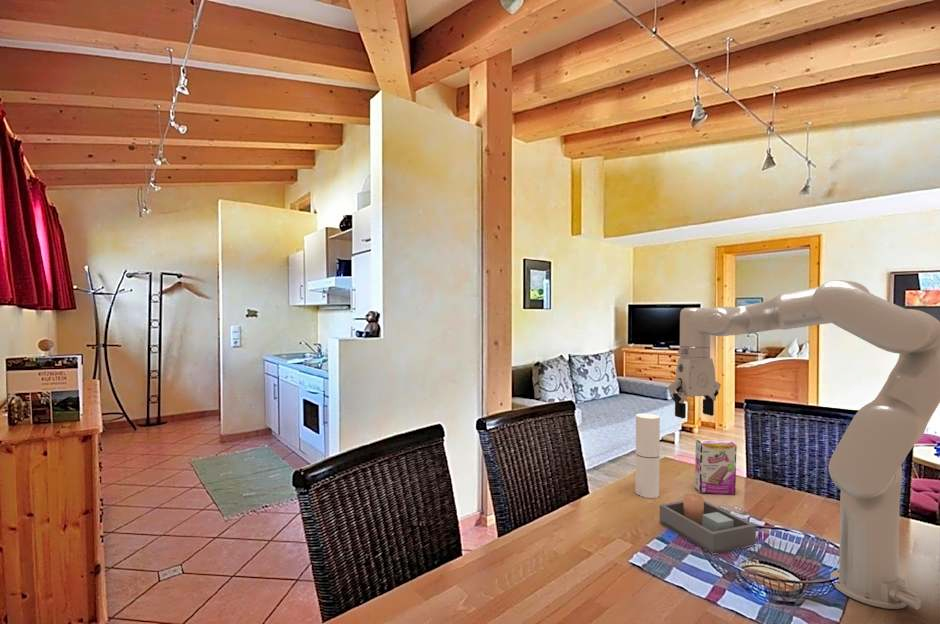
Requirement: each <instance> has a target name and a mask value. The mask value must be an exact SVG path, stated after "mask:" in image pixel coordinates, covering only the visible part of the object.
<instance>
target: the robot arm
mask: <svg viewBox="0 0 940 624" xmlns="http://www.w3.org/2000/svg"><path fill="white" fill-rule="evenodd" d="M679 313H680V314H679V349H678V350H677V353H678V354H679V357H678V359H677V362H676V363H677V364H676V369H675V370H676V371H675V380H674V382H673V383H671V384H670V385H668V386H667V391H668V393H669V396H670V397H671V399H672V401H673V402H674V417H677V418H680V419H685V418H686V417H687V415H686V413H687V411H686V407H687V406H686V403H685V401H686V399H687V398H688V397H692V398H693V397H703V398H702V414H703V415H708V416H710V417H712V416H714V415H715V413H714V412H715V401H716V399H717V396H718V395H719V391H720V389H721V386H722V385H721V383H720V382H718V381H716V380H717V379H716V370H715V365H714V360H713V358H712V357H711V336H714V337H715V336H716V337H727V336H729V337H730V336H740V335H747V334H754V333H760V332H761V333H762V332H768V331H773V330H774V331H776V330H783V331H784V330H792V329H797V328H806V327H814V326H817V325H818V326H819V325H828V324H832V325H835V326H837V327H838V328H840V329H842V330H844V331H845V332H847V333H849V334H852V335H854V336H856V337H857V338H859V339H861V340H863V341H865V342H866V343H868V344H871V345H872V346H874V347H877V348H878V349H881V350H883V351H886V352H889V353H893V354H899V356H898V359H897V362H896V364H895V365H894V366H893V368H892V370H891V372H889V375H888V377H887V380H886V381H885V383H884V384H883V386H882V388H881V390H880V391H879V393H878V395H876V397H875V399H873V400H871V402H869V403H866V404H865V405H864V406H862V407H861V408H860V409H858V411H857V412H856V413H855V414H854V416H853V418H852V420H850V422H849V425H848V426H847V428H846V430H845V432H844V433H843V435H842V437H841V439H840V441H839V442H838V444H837V445H836V448H834V449H835V450H834V451H833V453H832V455H831V457H830V458H829V461H828V474H829V477H830V478H831V480H832V482H833V484H834V486H836V487H837V489H839V490H840V496H839V497H840V500H839V502H840V503H839V559H838V560H839V568H838V569H835V570H833V571H832V572H831V573H830V574H829V579H830V578H833V577H839V579H838V581H837V583H835V587H834V588H835V589H836V590H837V591H839V592H841V594H843V595H845V596H847V597H849V598H851V599H853V600H856V601H857V602H861V603H863V604H866V605H869V606H873V607H877V608H880V609H888V610H900V609H904V608H906V607H907V606H909V608H910V607H911V608H913V609H914V610H916V611H917V610H919V609H921V606H922V601H921V595H920V594H918V593H916V592H915V591H912V590H908V589H907V587H905V582H906V581H905V579H904V578H901V577H899V561H900V560H899V559H900V558H899V556H900V555H899V550H900V549H899V546H900V544H899V543H900V542H899V541H900V506H901V505H900V501H901V492H902V483H903V467H902V464H903V463H904V462H905V459H906V458H907V456H908V454H909V453H910V451H912V448H913V447H914V446H915V444H916V443H917V442H918V441H919V440H921V438H922V437H923V436H924V434H925V431H926V428H927V426H928V424H929V423H930V420H931V418H932V416H933V415H934V413H935V411H936V410H937V408H938V406H939V405H940V320H938V319H937V318H936V317H934V316H933V315H931V314H930V313H927V312H925V311H922V310H919V309H914V308H913V309H911V308H905V307H903V306H899V305H897V304H896V303H893V302H890V301H889V300H885V299H884V298H882V297H880V296H877V295H875V294H873V293H871V292H870V291H869V289H868V288H867V287H866V286H865V285H863V284H861V283H859V282H856V281H852V280H844V279H839V280H838V279H836V280H830V281H827V282H824V283H823V284H821V285H819V286H814V287H810V288H805V289H800V290H799V289H798V290H795V291H789V292H784V293H779V294H777V295H775V296H774V297H773V298H771V299H769V300H765V301H761V302H756V303H751V304H746V305H740V306H715V307H709V308H705V307H684V308H682V309H681V311H680V312H679Z"/></svg>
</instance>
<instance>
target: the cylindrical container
mask: <svg viewBox="0 0 940 624" xmlns="http://www.w3.org/2000/svg"><path fill="white" fill-rule="evenodd" d="M660 420H661V419H660V415H657V414H654V413H644V412H643V413H637V414H635V481H634V482H635V485H634V486H635V489H634V490H635V494H636V495H637V494H638V496H639V495H640V496H639V497H642V496H643V497H642V498H646V499H656V498H659V497H660V445H661V444H660V438H661V437H660V429H661V427H660V426H661V425H660V422H661V421H660ZM658 496H659V497H658Z"/></svg>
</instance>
